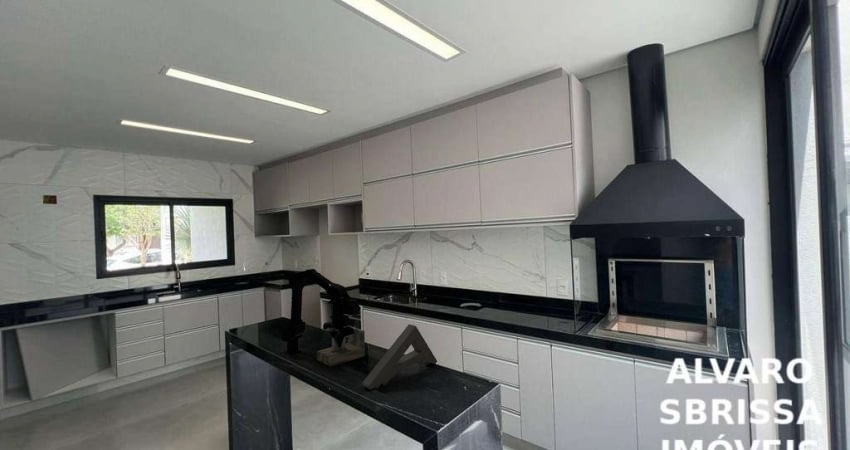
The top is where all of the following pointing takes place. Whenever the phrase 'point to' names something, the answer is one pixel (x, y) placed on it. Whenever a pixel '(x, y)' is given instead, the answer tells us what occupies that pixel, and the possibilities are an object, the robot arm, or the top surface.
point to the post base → (353, 350)
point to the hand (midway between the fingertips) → (338, 347)
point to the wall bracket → (400, 357)
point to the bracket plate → (335, 346)
